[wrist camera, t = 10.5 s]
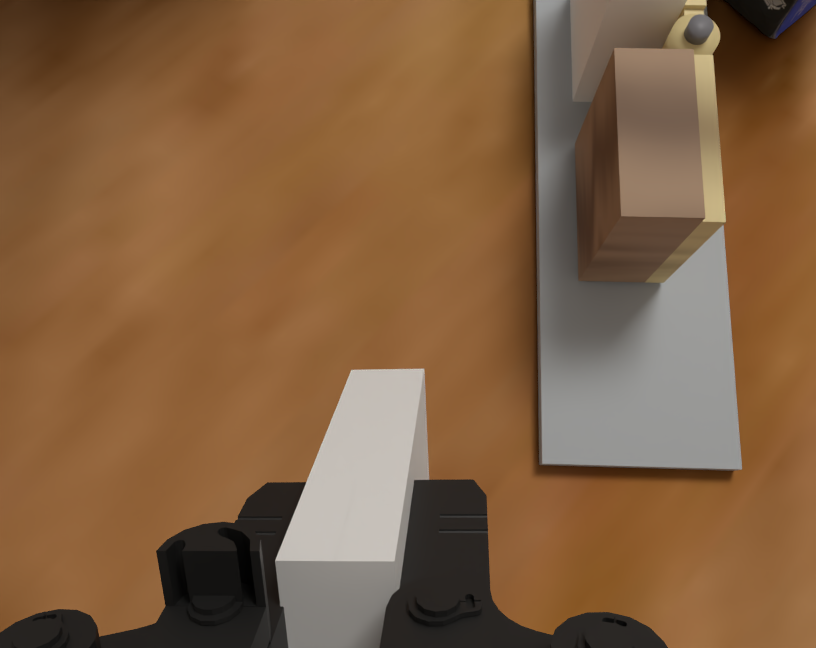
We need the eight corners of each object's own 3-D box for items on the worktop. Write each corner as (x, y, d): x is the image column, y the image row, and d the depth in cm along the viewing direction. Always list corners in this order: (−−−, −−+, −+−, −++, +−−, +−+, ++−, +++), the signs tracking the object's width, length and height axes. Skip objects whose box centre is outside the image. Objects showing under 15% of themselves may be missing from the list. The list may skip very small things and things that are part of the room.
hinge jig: (734, 470, 40) (836, 454, 30) (539, 465, 40) (577, 446, 30) (698, -15, 47) (771, -156, 37) (533, -17, 47) (562, -158, 37)
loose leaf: (674, 283, 41) (744, 218, 32) (578, 280, 41) (621, 216, 32) (664, 105, 44) (725, 0, 35) (573, 103, 44) (612, -1, 35)
